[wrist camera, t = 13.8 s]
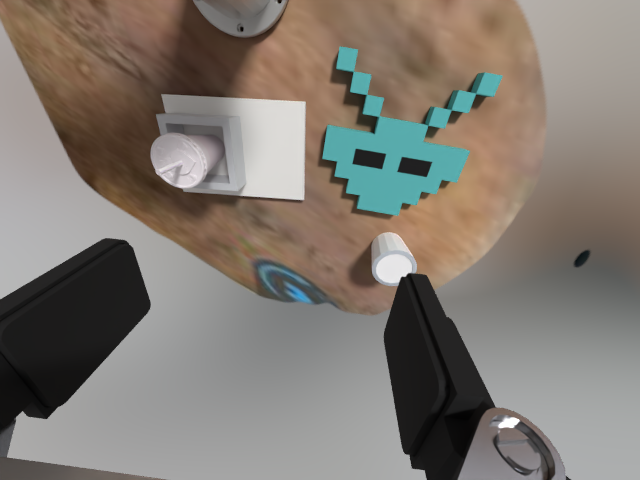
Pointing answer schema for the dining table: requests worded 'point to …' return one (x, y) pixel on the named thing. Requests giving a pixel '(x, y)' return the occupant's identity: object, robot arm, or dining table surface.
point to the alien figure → (397, 147)
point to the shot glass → (391, 259)
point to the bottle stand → (245, 142)
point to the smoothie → (185, 157)
